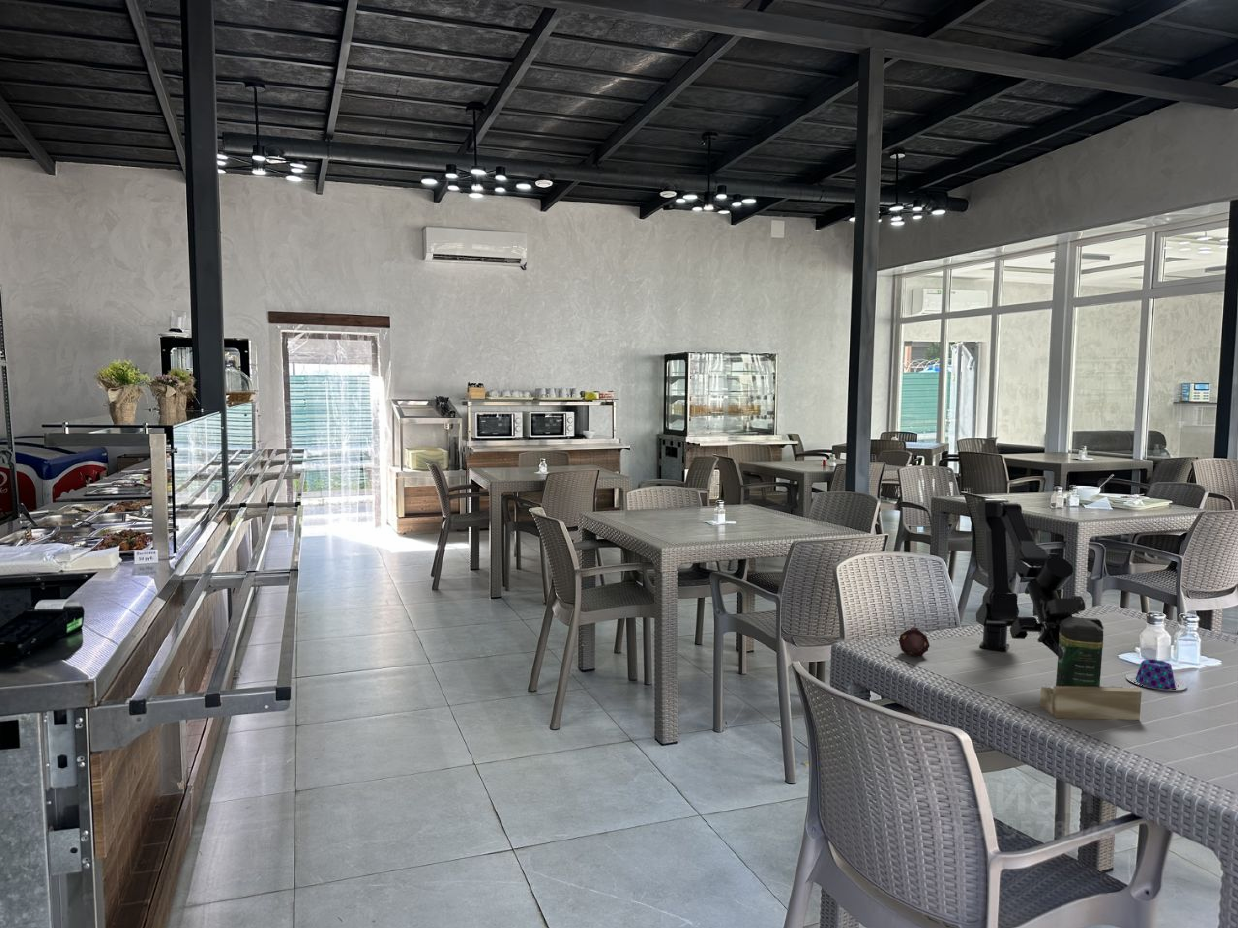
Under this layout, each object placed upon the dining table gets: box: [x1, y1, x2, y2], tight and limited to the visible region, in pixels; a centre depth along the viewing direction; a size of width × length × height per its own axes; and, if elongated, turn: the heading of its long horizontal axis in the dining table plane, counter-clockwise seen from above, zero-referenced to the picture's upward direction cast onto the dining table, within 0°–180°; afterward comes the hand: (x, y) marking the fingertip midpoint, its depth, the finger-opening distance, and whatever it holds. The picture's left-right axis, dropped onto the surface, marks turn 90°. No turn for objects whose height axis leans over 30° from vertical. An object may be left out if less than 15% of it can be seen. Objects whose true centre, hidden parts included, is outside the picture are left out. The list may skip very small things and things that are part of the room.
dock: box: [1039, 685, 1142, 721], centre depth 175 cm, size 7×17×6 cm, turn 89°
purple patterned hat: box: [1125, 658, 1187, 692], centre depth 194 cm, size 12×12×5 cm
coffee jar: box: [1055, 616, 1104, 687], centre depth 179 cm, size 10×8×19 cm
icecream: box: [898, 626, 931, 657], centre depth 212 cm, size 7×7×15 cm
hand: (1067, 662), depth 183 cm, fingers closed, pressing on coffee jar
